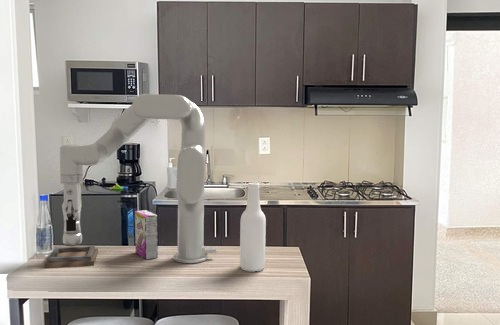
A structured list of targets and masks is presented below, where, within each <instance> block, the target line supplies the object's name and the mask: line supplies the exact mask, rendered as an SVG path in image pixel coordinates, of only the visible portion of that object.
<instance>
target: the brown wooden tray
mask: <svg viewBox="0 0 500 325" xmlns="http://www.w3.org/2000/svg"><path fill="white" fill-rule="evenodd" d="M98 254H99V249H98V248H96V245H84V246H83V245H81V246H80V245H77V246H61V247H60V246H59V247H58V246H57V247H55V248H54V249H53V250H52V252H51V253H50V254H49V256H48V258H47V259H46V261H45V262H44V268H45V269H50V268H66V267H67V268H69V267H85V266H86V267H90V266H95V263H96V260H97V256H98Z"/></svg>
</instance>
